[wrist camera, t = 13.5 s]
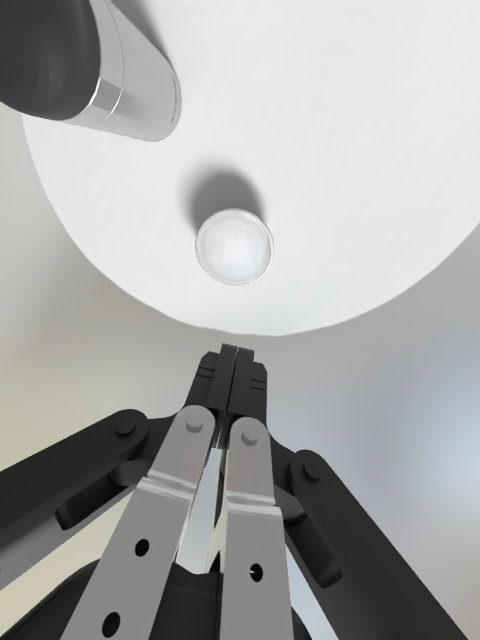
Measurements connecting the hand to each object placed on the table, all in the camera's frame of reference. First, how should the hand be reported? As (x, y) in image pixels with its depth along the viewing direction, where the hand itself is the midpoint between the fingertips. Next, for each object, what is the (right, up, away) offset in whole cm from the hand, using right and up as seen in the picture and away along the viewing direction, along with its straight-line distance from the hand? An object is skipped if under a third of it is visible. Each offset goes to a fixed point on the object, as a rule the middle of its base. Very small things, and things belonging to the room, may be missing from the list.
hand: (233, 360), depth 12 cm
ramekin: (0, +15, +28) cm, 31 cm away
